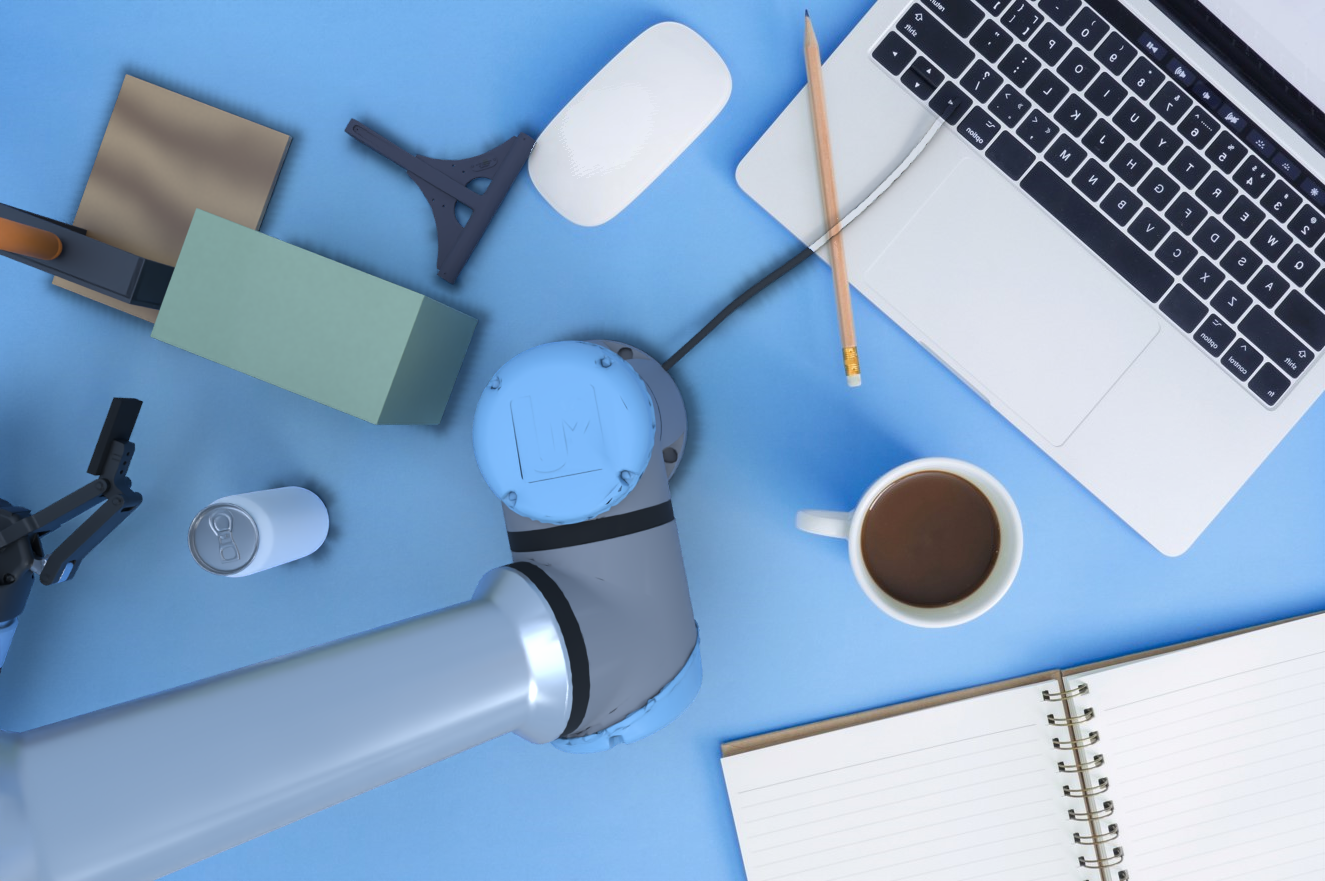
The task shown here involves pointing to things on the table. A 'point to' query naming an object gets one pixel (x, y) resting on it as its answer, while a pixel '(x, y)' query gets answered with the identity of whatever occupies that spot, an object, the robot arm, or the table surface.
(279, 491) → the can
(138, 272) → the block with orange grip
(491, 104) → the table surface
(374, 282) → the stand
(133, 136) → the cork mat
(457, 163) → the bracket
